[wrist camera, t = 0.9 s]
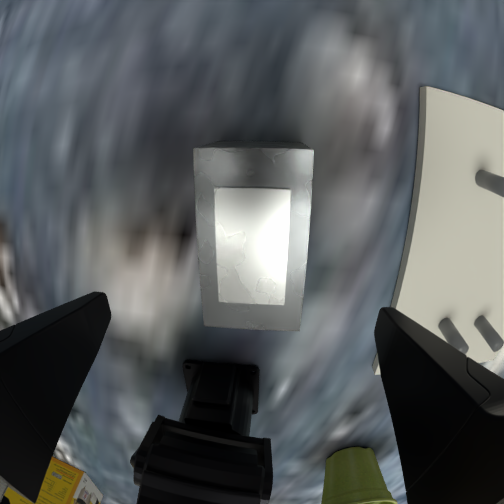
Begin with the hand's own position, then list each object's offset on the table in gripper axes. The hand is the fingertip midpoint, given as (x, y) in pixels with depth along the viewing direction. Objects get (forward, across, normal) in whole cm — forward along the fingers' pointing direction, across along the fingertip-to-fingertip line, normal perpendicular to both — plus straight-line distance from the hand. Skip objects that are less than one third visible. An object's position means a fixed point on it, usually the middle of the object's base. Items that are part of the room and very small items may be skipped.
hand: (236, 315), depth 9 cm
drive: (+11, 0, 0) cm, 11 cm away
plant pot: (+11, -12, +30) cm, 34 cm away
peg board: (+11, -17, +2) cm, 20 cm away
